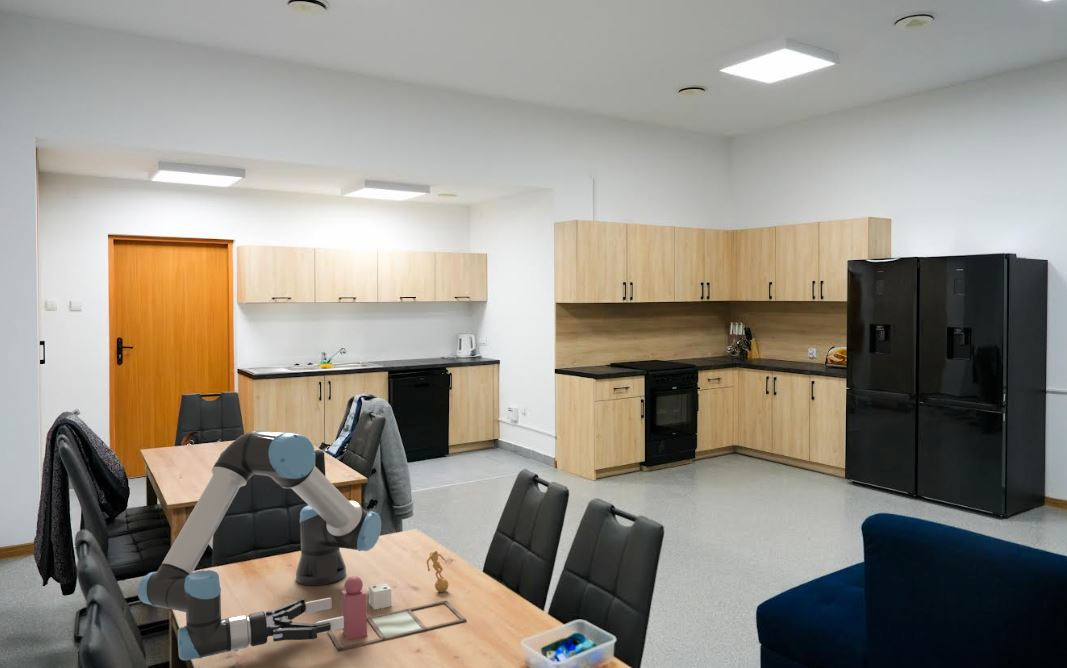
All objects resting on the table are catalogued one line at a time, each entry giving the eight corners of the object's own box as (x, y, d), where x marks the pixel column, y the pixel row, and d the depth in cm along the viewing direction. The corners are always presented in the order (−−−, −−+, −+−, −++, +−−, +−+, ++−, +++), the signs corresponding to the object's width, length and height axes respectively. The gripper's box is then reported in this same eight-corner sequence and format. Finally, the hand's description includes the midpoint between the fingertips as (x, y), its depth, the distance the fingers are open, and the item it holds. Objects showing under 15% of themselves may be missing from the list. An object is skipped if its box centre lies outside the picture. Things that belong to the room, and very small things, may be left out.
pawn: (343, 632, 193) (341, 575, 192) (362, 628, 195) (360, 571, 195) (347, 640, 189) (345, 581, 188) (367, 635, 191) (365, 577, 190)
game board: (325, 628, 196) (325, 626, 196) (446, 601, 212) (446, 600, 212) (338, 651, 183) (338, 649, 183) (466, 621, 198) (466, 619, 198)
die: (369, 603, 211) (368, 586, 211) (386, 600, 214) (385, 582, 214) (374, 609, 207) (373, 592, 207) (391, 606, 209) (391, 588, 209)
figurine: (438, 597, 215) (437, 557, 214) (422, 594, 218) (421, 553, 217) (455, 588, 222) (454, 548, 221) (439, 584, 225) (438, 545, 224)
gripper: (243, 626, 191) (327, 609, 201) (255, 667, 169) (349, 646, 178) (242, 597, 190) (326, 581, 200) (254, 635, 168) (348, 615, 178)
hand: (337, 612), depth 189 cm, fingers open, 13 cm apart
